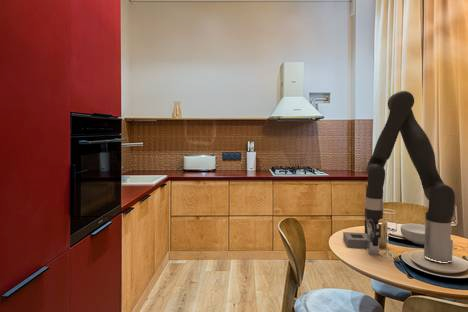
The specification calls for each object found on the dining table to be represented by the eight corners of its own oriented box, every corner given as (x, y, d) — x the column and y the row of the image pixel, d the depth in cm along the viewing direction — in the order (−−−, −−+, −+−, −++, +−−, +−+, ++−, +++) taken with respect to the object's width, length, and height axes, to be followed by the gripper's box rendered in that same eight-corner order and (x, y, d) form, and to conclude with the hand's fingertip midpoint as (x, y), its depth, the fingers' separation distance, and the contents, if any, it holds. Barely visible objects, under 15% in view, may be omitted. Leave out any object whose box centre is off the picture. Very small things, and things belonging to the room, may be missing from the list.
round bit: (384, 244, 147) (385, 220, 146) (388, 249, 141) (389, 224, 140) (371, 244, 148) (372, 220, 147) (374, 248, 142) (375, 223, 141)
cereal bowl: (420, 249, 140) (420, 235, 140) (392, 238, 156) (392, 224, 156) (448, 246, 145) (448, 231, 144) (418, 235, 161) (419, 222, 160)
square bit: (376, 251, 138) (376, 226, 137) (378, 255, 134) (379, 229, 133) (367, 251, 139) (367, 226, 138) (369, 254, 135) (370, 228, 134)
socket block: (365, 240, 153) (365, 233, 152) (371, 248, 142) (372, 240, 142) (343, 239, 155) (343, 232, 154) (347, 247, 144) (347, 239, 143)
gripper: (388, 211, 128) (386, 249, 129) (378, 204, 142) (376, 237, 143) (369, 211, 129) (368, 247, 130) (361, 203, 143) (360, 236, 144)
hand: (372, 242), depth 136 cm, fingers open, 8 cm apart
